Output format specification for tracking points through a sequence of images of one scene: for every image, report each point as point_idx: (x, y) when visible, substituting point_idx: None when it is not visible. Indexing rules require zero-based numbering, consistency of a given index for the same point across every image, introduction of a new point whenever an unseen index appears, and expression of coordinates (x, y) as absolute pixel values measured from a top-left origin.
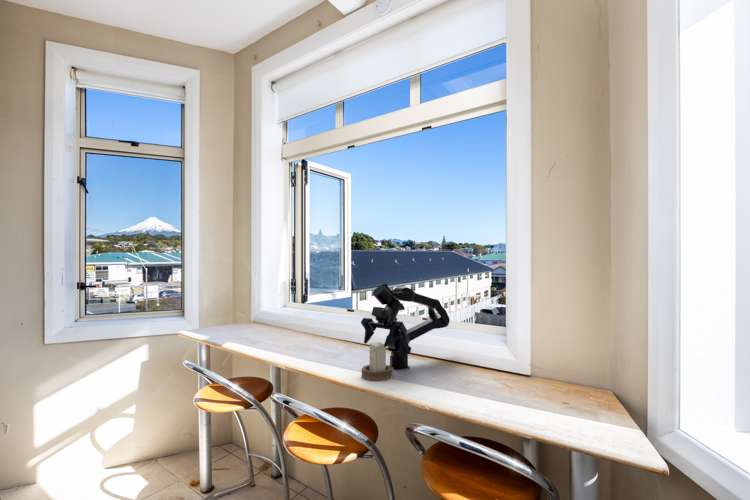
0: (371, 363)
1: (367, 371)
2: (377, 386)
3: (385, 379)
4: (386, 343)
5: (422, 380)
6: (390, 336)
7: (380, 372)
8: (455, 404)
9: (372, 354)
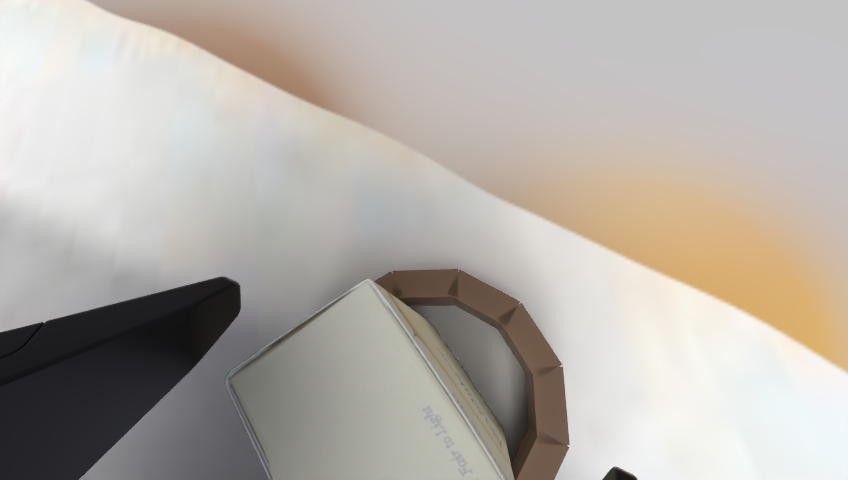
0: (474, 396)
1: (487, 289)
2: (392, 183)
3: None
4: (183, 297)
5: None
6: (4, 338)
7: (376, 282)
8: (21, 39)
9: (454, 379)
